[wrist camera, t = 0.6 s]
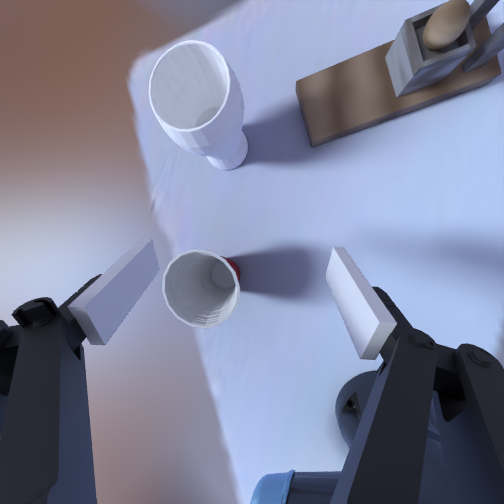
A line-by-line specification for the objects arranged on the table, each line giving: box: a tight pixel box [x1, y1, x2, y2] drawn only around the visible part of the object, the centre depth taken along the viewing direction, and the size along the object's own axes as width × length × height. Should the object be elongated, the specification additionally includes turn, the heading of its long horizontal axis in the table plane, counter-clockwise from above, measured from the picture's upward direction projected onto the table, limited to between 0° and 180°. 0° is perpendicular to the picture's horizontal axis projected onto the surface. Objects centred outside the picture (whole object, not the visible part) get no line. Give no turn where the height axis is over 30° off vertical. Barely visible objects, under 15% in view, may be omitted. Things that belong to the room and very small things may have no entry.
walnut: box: [423, 0, 470, 50], centre depth 24 cm, size 4×4×4 cm
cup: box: [149, 40, 248, 170], centre depth 29 cm, size 11×11×15 cm
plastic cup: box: [162, 249, 240, 329], centre depth 32 cm, size 11×11×12 cm
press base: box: [296, 0, 504, 147], centre depth 25 cm, size 26×10×15 cm, turn 107°
